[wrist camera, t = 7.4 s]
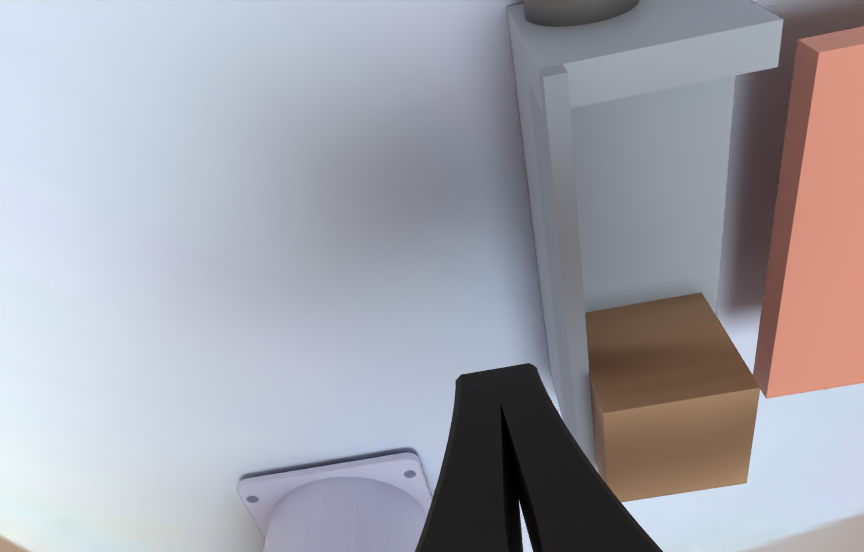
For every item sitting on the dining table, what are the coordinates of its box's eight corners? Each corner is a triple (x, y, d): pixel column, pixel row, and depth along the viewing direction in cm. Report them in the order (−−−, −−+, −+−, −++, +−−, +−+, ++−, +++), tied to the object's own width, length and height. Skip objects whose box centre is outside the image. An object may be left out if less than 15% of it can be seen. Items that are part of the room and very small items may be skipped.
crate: (695, 384, 22) (746, 483, 19) (578, 403, 23) (608, 504, 20) (701, 292, 20) (760, 387, 17) (570, 315, 20) (603, 413, 17)
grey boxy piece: (678, 372, 26) (735, 490, 22) (552, 393, 27) (584, 513, 22) (695, -84, 17) (804, -39, 12) (500, -41, 17) (537, 17, 13)
